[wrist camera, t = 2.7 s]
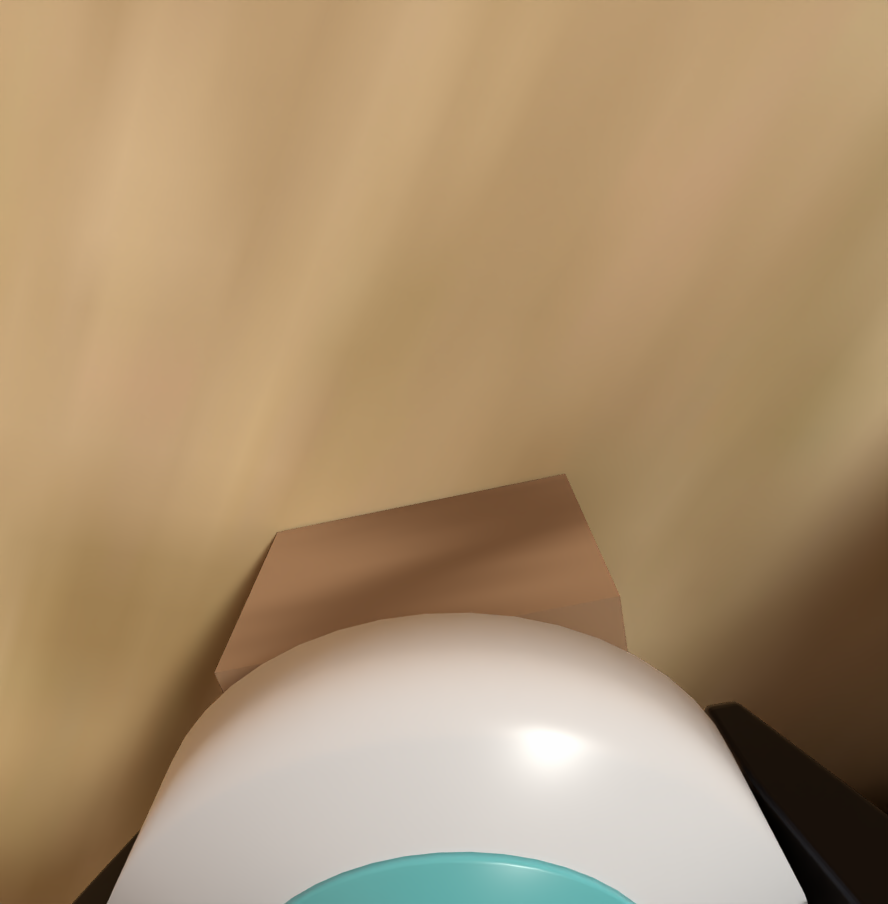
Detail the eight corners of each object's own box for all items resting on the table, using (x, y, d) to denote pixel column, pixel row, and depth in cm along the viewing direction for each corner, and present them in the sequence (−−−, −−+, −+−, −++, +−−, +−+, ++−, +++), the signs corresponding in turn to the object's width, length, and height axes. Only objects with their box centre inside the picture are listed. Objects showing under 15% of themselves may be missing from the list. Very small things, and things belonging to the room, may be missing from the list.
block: (565, 473, 11) (619, 595, 8) (602, 702, 13) (659, 877, 10) (277, 532, 11) (214, 672, 8) (354, 745, 13) (328, 930, 10)
